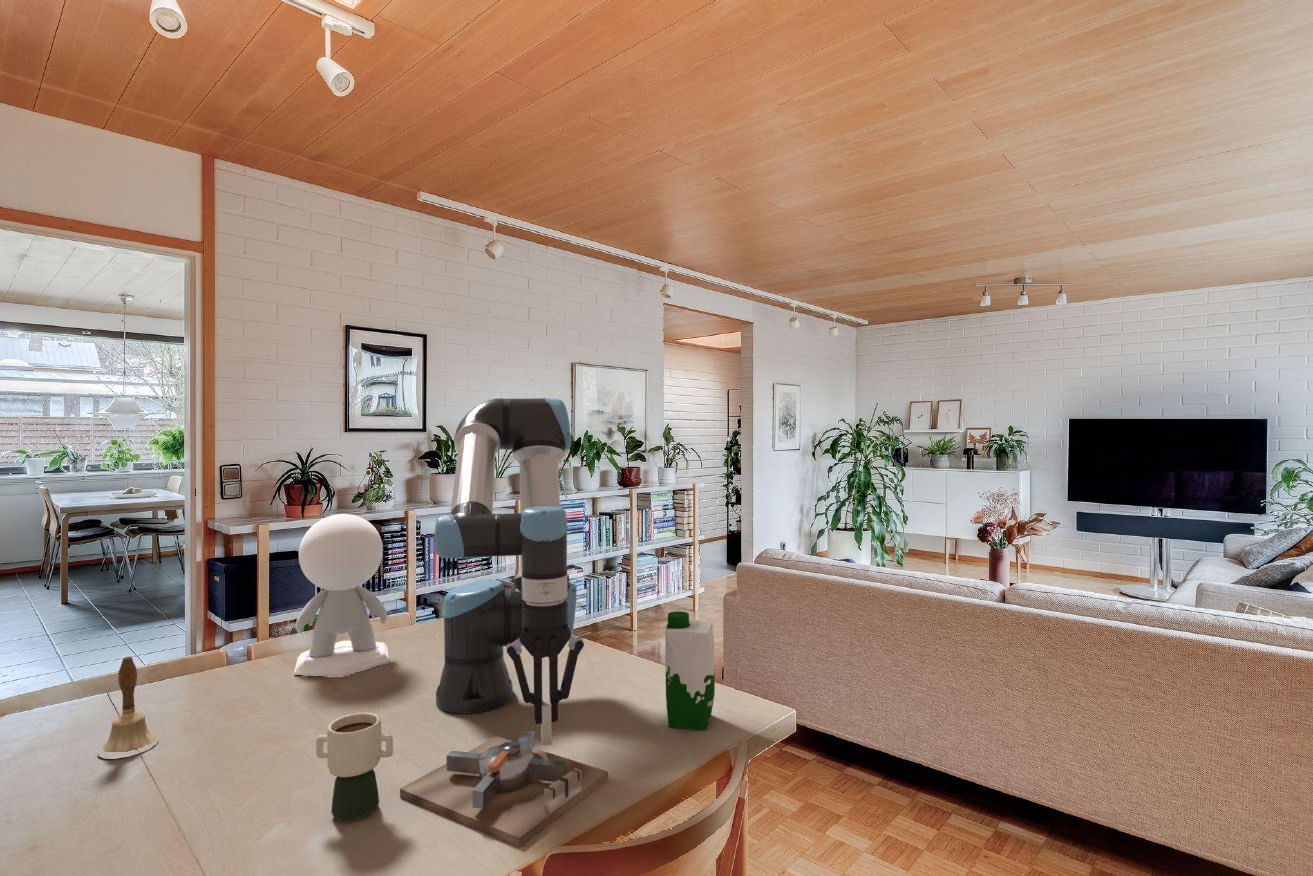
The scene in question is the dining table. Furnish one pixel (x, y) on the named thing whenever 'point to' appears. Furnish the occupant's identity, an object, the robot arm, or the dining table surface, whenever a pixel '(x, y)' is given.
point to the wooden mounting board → (505, 797)
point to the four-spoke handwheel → (505, 768)
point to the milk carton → (689, 671)
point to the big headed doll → (341, 597)
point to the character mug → (354, 762)
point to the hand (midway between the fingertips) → (546, 741)
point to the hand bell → (128, 716)
